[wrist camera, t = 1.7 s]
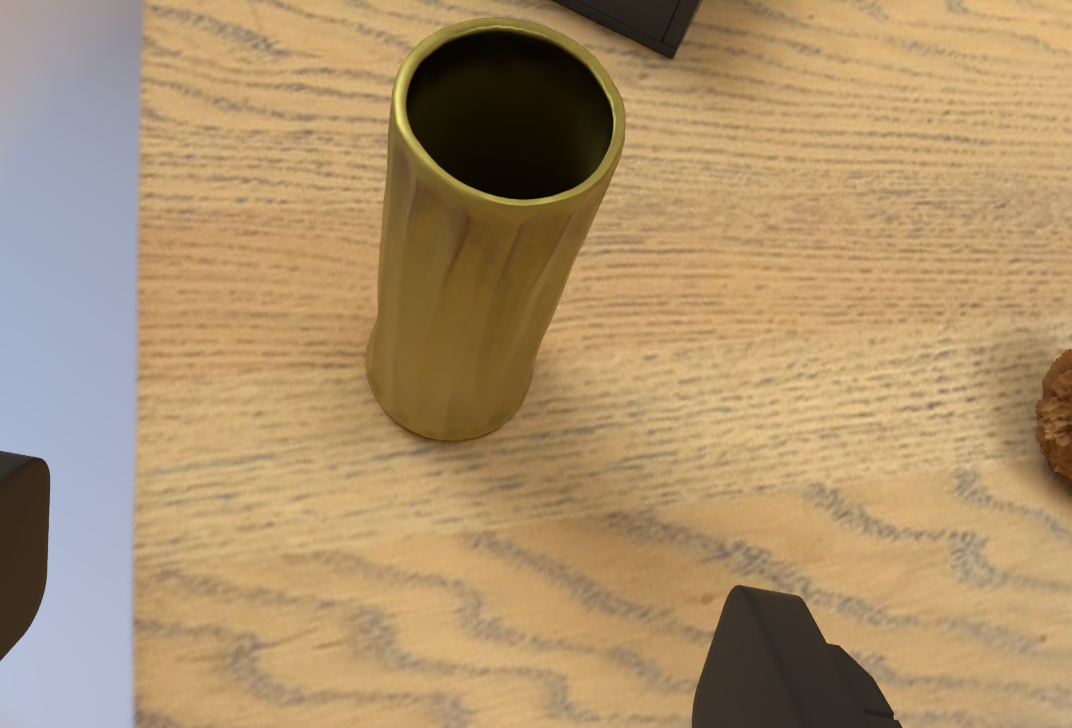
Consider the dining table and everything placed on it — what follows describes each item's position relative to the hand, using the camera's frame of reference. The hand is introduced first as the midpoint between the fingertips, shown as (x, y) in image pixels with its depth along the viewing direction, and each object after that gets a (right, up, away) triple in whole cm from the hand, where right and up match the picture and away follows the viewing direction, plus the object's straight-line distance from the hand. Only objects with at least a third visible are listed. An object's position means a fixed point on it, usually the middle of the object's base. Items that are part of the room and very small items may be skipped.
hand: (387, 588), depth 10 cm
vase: (-1, +3, +21) cm, 22 cm away
